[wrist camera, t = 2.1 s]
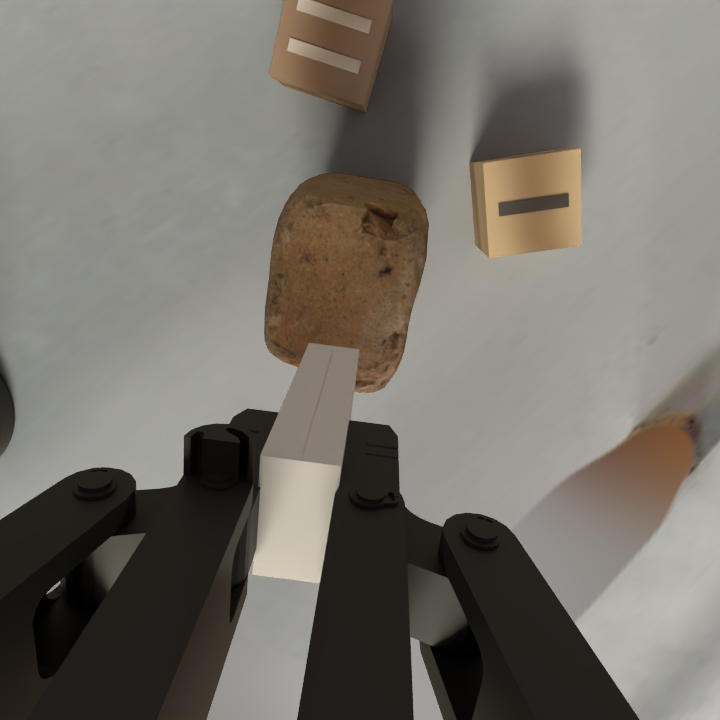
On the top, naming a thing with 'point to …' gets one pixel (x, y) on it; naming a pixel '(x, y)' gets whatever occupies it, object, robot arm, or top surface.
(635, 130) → the top surface
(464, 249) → the top surface
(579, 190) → the cube one stripe
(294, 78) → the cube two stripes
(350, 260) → the block
